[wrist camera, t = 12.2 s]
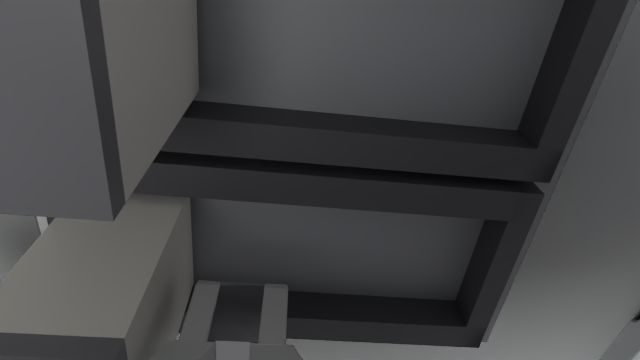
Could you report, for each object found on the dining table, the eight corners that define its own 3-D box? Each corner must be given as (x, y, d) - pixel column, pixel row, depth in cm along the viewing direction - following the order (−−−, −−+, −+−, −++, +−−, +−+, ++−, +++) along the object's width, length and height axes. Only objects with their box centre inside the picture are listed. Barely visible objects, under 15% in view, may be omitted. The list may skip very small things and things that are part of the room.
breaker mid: (194, -71, 8) (68, -74, 4) (198, 90, 9) (113, 221, 5) (54, -89, 8) (-251, -113, 3) (81, 79, 9) (-107, 206, 5)
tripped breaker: (189, 189, 10) (114, 361, 6) (193, 282, 12) (134, 470, 8) (86, 181, 10) (-62, 352, 6) (103, 277, 12) (-7, 468, 8)
